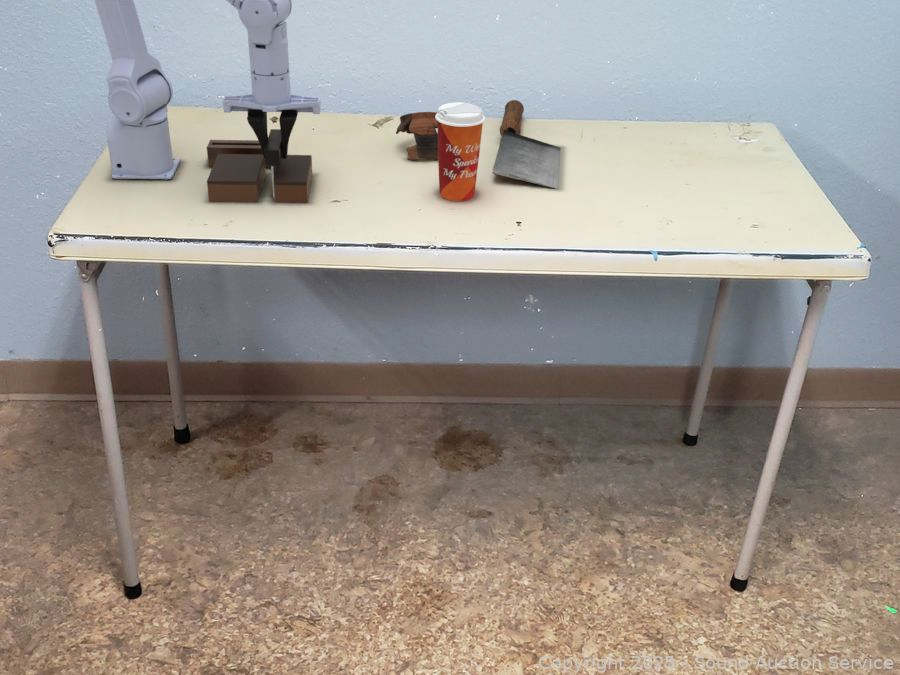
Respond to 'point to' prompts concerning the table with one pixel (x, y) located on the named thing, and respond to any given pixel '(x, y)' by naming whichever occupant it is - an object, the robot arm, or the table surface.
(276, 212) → the table surface
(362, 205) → the table surface
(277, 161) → the bench scraper
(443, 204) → the table surface
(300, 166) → the brown rectangular block
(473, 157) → the paper cup
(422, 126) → the brown irregular chunky piece
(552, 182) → the meat cleaver
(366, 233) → the table surface
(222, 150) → the knife block
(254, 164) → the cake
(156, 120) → the robot arm
